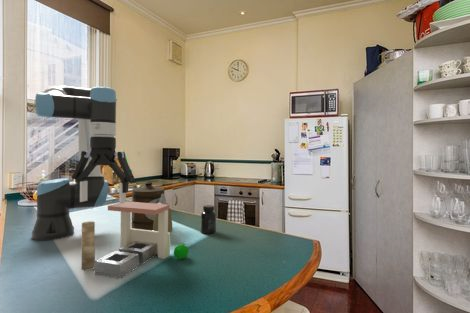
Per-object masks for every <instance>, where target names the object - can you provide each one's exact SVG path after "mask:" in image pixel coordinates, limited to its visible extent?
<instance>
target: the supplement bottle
mask: <svg viewBox="0 0 470 313" xmlns="http://www.w3.org/2000/svg"><path fill="white" fill-rule="evenodd" d="M202 209H203V210H202V212H201V214H200V233H201V234H203V235H204V236H207V235H208V236H211V235H214V234H216V232H217V212H215V206H214V205H212V204H205V205H203V208H202Z"/></svg>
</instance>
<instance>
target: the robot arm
mask: <svg viewBox="0 0 470 313" xmlns="http://www.w3.org/2000/svg"><path fill="white" fill-rule="evenodd" d="M117 100H118V99H117V93H116V90H115V89H114V88H112V87H108V86H107V87H106V86H94V87H91V88H86V87H78V86H77V87H76V86H69V85H68V86H67V85H59V86H52V87H49V88H47V89H45V90H44V91H43V92H38V93H36V94H35V104H34V105H35V106H34V107H35V115H37V116H38V117H42V118H45V117H46V118H58V119H75V120H77V122H78V124H77V126H78V129H77V130H78V131H77V132H78V163H77V165H76V167H75V170H74V171H73V174H72V176H71V179H72V180H74V181H71V180H70V178H67V177H65V178H55V179H49V180H45V181H42V182H40V183H38V184H37V186H36V194H35V195H36V219H35V223H34V224H33V225H34V226H33V229H32V230H31V239H32V240H35V241H53V240H60V239H63V238H68V237H70V236H72V235H74V234H75V227H74V225H73V222H72V219H71V216H70V210H71V209H85V208H95V207H102V206H103V205H105V204H106V202H107V197H108V193H109V181H108V180H106V179H105V176H104V174H102V173H101V166H108V167H110V168H111V170H112V171H113V172H114V174H115V175H116V176H117V177H118V179H119V180H120V181H121V182H119V186H118V187H119V190H118V191H119V192H118V195H119V198H118V199H119V200H118V203H119V204H122V203H125V202H126V201H127V193H129V183H130V182H132V181H134V180H135V176H134V174H133V172H132V170H131V168H130V165H129V163H128V162H127V159H126V152H124V151H118V152H116V148H117V147H116V146H117V144H116V143H117V140H116V135H117V122H116V121H117V117H116V116H117V115H116V114H117ZM114 136H115V137H114ZM116 159H117V161H118V162H117V161H116ZM118 163H119V165H120V166H119V165H118Z"/></svg>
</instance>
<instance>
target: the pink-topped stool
mask: <svg viewBox="0 0 470 313" xmlns="http://www.w3.org/2000/svg"><path fill="white" fill-rule="evenodd" d="M169 208H170V204H169V205H166V204H153V203H141V202H132V201H127V200H126V202H125V203H122V204H119V202H118V203H113V204H109V205H107V211H112V212H120V248H122V247H123V246H125V245H127V244H129V243H131V242H133V241H141V242H149V243H157V254H158V255H157V258H158V259H164V260H165V258H166V259H167V257H170V256H171V234H170V233H169V232H168V209H169ZM132 213H142V214H153V215H156V214H158V231H151V230H142V229H133V228H131V222H132V219H131V217H132Z"/></svg>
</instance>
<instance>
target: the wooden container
mask: <svg viewBox="0 0 470 313" xmlns="http://www.w3.org/2000/svg"><path fill="white" fill-rule="evenodd" d="M131 193H132V195H131V196H132V197H131V202H141V203H153V204H157V203H159V202H160V200H161V196H162V194H165V188H164V187H161V186H160V187H159V186H153V181H152V180H146V181H145V182H144V186H141V187H135V188H133V189H132V191H131ZM153 223H154V215H153V214H142V213H132V212H131V228H133V229H142V230H151V231H152V230H153Z"/></svg>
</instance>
